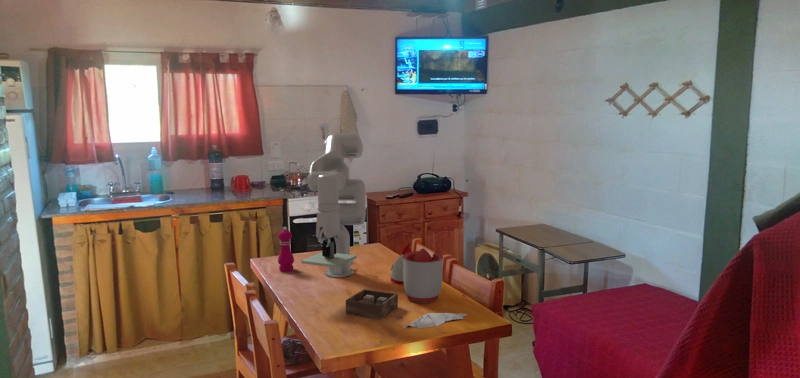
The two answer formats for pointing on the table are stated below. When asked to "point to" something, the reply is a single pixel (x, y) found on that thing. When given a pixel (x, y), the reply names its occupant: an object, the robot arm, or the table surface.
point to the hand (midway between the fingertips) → (329, 254)
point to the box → (372, 304)
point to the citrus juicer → (422, 275)
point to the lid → (329, 258)
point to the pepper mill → (285, 251)
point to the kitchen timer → (399, 268)
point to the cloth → (434, 319)
